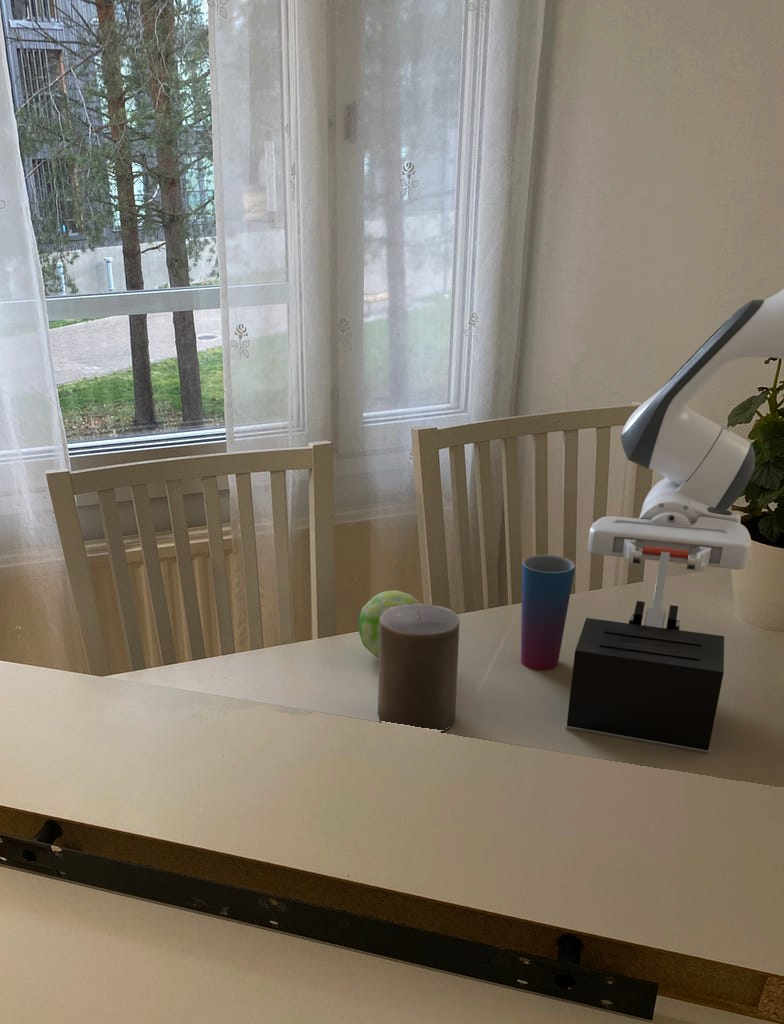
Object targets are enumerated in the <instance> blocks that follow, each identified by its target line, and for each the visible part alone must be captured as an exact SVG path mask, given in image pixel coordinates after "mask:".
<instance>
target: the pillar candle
mask: <svg viewBox="0 0 784 1024" xmlns="http://www.w3.org/2000/svg"><path fill="white" fill-rule="evenodd" d="M459 639H460V618H459V616H458V615H457V613H456V612H454V611H453V610H452V609H451V608H446V607H444V606H440V605H432V604H425V603H420V604H412V605H411V604H407V605H401V606H396V607H390V608H388V609H387V611H385V612H383V614H382V615H381V616H380V629H379V657H378V695H377V701H378V702H377V715H378V719H379V721H380V720H381V721H385V722H391V723H397V724H404V725H410V726H415V727H421V728H429V729H437V730H446V728H448V727H450V726H451V727H452V726H453V725H454V724H453V723H455V720H456V709H457V707H456V705H457V689H458V688H457V685H458V665H459V664H458V662H459V659H458V658H459V641H460V640H459ZM381 721H380V722H381ZM452 724H453V725H452ZM451 727H450V728H451ZM446 731H447V730H446Z"/></svg>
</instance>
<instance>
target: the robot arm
mask: <svg viewBox="0 0 784 1024" xmlns="http://www.w3.org/2000/svg"><path fill="white" fill-rule="evenodd" d="M751 357H752V358H754V357H756V358H757V357H758V358H759V357H761V358H770V359H771V358H773V359H780V360H784V288H782V289H781V290H780V291H778V292H777V293H775V294H773V295H771V296H769V297H767V298H765V299H751V300H750V301H748V302H747V303H745V304H744V305H742V306H741V307H740V308H738V309H737V310H736V311H735V312H734V313H733V314H732V315H731V316H730V317H729V318H727V319H726V320H725V321H724V323H723V324H721V325H720V327H718V328H717V329H716V330H715V332H713V333H712V334H711V335H710V336H709V337H708V339H706V340H705V342H704V343H703V344H702V345H701V346H700V347H699V348H698V349H697V350H696V351H695V352H694V353H693V354H692V355H691V356H690V357H689V358H688V359H687V360H686V361H685V362H684V363H683V365H681V366H680V368H678V370H677V371H676V372H675V373H674V374H673V375H672V376H671V377H670V378H669V379H668V380H666V382H665V383H664V384H663V385H662V386H661V387H660V388H659V389H658V390H657V391H656V392H655V393H654V394H653V395H652V396H650V397H649V398H648V399H646V400H645V401H644V402H642V403H641V405H639V406H638V407H637V408H636V409H635V410H634V411H633V413H632V414H631V415H630V416H629V418H628V419H627V420H626V423H625V424H624V426H623V428H622V432H621V434H620V441H621V446H622V449H623V451H624V454H625V456H626V459H627V461H629V462H632V463H634V464H636V465H639V466H640V467H642V468H645V469H647V470H649V469H650V470H651V471H653V472H654V473H656V474H659V476H662V477H663V478H662V479H661V480H659V481H658V482H656V484H655V485H654V486H652V488H651V489H650V490H649V492H648V493H647V495H646V497H645V499H644V501H643V503H642V507H641V512H640V514H639V517H637V518H636V517H625V516H614V515H613V516H612V515H605V516H602V517H600V518H598V519H597V520H596V521H594V522H593V523H592V524H591V527H590V529H589V533H588V541H587V550H588V551H589V552H590V553H592V554H593V555H599V556H600V555H601V556H609V557H618V558H625V559H627V561H628V564H630V565H641V564H642V560H645V561H646V560H647V561H654V562H656V561H657V562H660V556H655V555H646V554H643V548H644V546H649V547H659V548H669V549H679V550H688V551H689V555H688V559H684V558H674V557H669V563H675V564H682V565H683V564H684V565H686V570H687V571H694V572H699V571H700V568H703V567H711V568H719V569H720V568H721V569H728V570H729V569H730V570H735V571H736V570H743V569H747V568H748V565H749V562H750V556H751V551H752V538H751V535H750V532H749V530H748V528H747V527H746V526H745V525H744V524H741V519H742V517H741V514H740V513H738V512H735V511H730V510H729V509H730V508H731V507H732V506H733V505H734V504H735V503H736V501H738V499H739V497H740V496H742V494H743V492H744V491H745V489H746V487H748V485H749V483H750V481H751V478H752V475H753V473H754V471H755V467H756V455H755V449H754V446H753V444H752V442H750V441H748V440H747V439H745V438H743V437H741V436H740V435H739V434H737V433H734V432H733V431H731V430H729V429H728V428H726V427H724V426H721V425H719V424H717V423H715V422H714V421H712V420H710V419H708V418H707V417H705V416H703V415H701V414H699V413H698V412H696V411H695V410H693V409H692V408H690V407H689V406H688V403H689V402H690V401H691V400H692V399H693V398H694V397H695V396H696V395H697V394H698V393H699V392H700V391H701V390H702V389H703V388H704V387H705V386H706V385H707V384H708V382H710V381H711V380H712V379H713V378H714V377H715V376H716V375H717V374H718V373H719V372H720V371H721V370H722V369H723V368H724V367H725V366H727V365H728V364H730V363H732V362H734V361H735V360H738V359H743V358H751Z"/></svg>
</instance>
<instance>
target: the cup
mask: <svg viewBox="0 0 784 1024" xmlns="http://www.w3.org/2000/svg"><path fill="white" fill-rule="evenodd" d="M521 562H522V567H521V569H522V570H521V624H520V625H521V626H520V628H521V629H520V663H521V665H522V666H524V667H525V668H527V669H530V670H534V671H541V672H544V671H545V672H546V671H551V670H554V669H556V668H557V667H558V665H559V660H560V653H561V649H562V643H563V637H564V631H565V626H566V621H567V615H568V608H569V603H570V597H571V592H572V587H573V582H574V581H573V580H574V574H575V570H576V563H575V562H574V561H573V560H571V559H569V558H567V557H564V556H559V555H552V554H535V555H530V556H528V557H526V558H523V560H522V561H521Z"/></svg>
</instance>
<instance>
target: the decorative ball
mask: <svg viewBox="0 0 784 1024" xmlns="http://www.w3.org/2000/svg"><path fill="white" fill-rule="evenodd" d="M407 604H411V605H412V604H421V603H420V601H418V600H417V598H415V597H414V596H413V595H412V594H410V593H407V592H403V591H400V590H385V591H381V592H380V593H377V594H376V595H374V596H373V597H372V598H371V599H370V600H369V601H367V602H366V604H365V605H363V607H362V608H361V611H360V615H359V621H358V631H359V636H360V639H361V642H362V645H363V647H365V649H366V650H368V651H369V652H370V653H371V654H372V655H373V656H375V657H376V658H379V629H380V616H381V615H382V614H383V612H385V611H387V609H388V608H390V607H396V606H401V605H407Z"/></svg>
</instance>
